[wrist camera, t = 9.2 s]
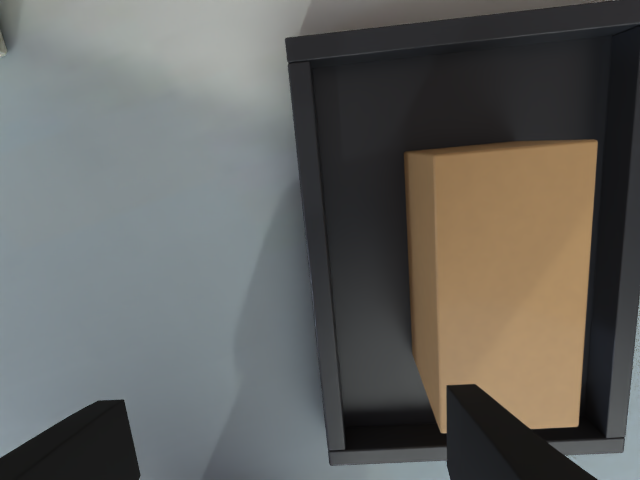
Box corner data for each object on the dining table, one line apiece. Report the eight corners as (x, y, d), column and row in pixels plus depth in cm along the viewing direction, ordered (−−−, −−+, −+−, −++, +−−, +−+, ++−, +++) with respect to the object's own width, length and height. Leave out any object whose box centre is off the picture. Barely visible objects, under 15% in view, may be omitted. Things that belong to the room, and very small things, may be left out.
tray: (592, 419, 19) (624, 453, 17) (330, 433, 20) (329, 466, 18) (624, 14, 15) (671, -7, 13) (291, 51, 16) (284, 37, 13)
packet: (512, 349, 17) (579, 427, 13) (412, 355, 18) (440, 434, 13) (516, 141, 15) (599, 139, 10) (403, 151, 16) (433, 154, 11)
